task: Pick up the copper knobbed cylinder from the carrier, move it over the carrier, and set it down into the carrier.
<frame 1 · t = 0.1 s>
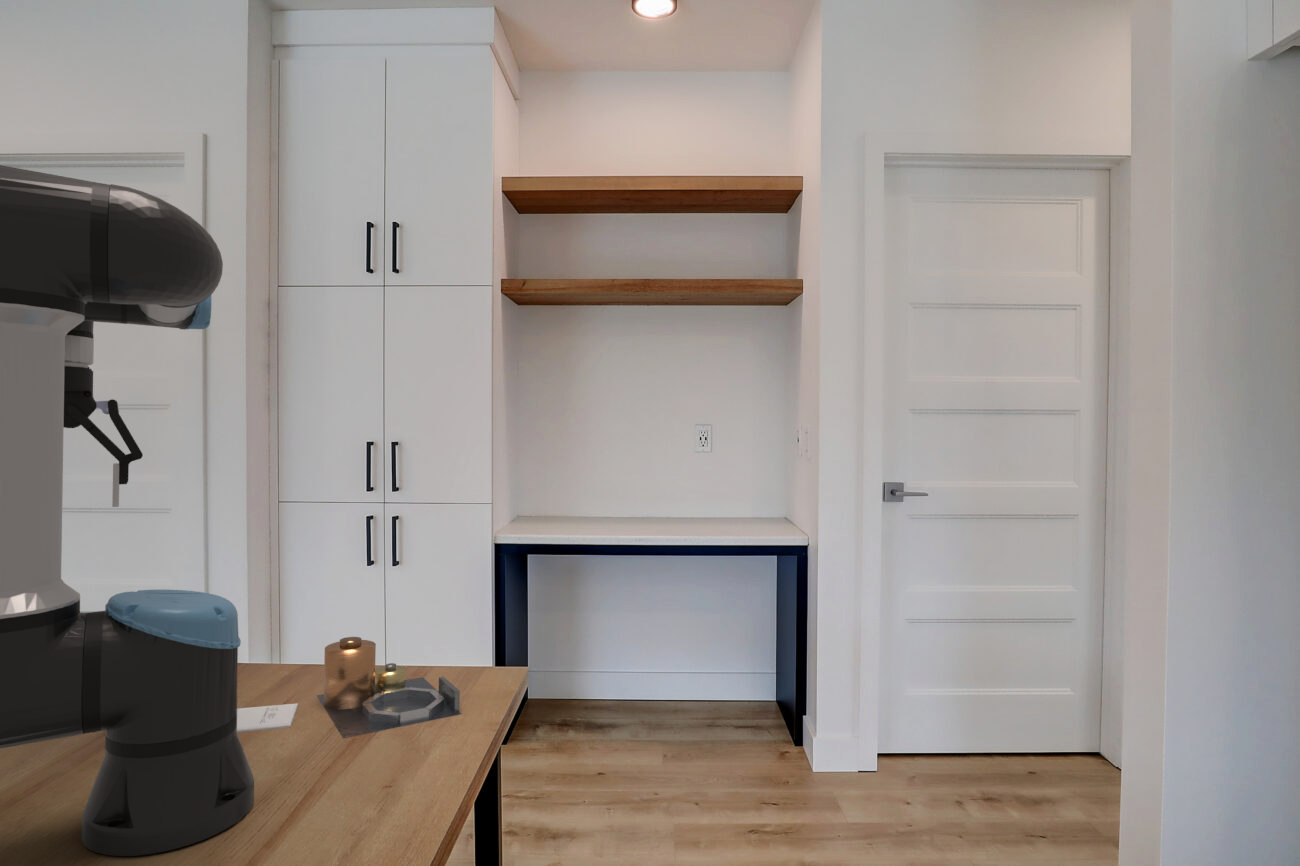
hand: (59, 508, 111), 28 cm above the table, tool pointing down, fingers open, 13 cm apart
external hard drive: (244, 729, 102), on the table
copper knobbed cylinder: (349, 700, 110), resting on carrier
carrier: (387, 707, 109), on the table
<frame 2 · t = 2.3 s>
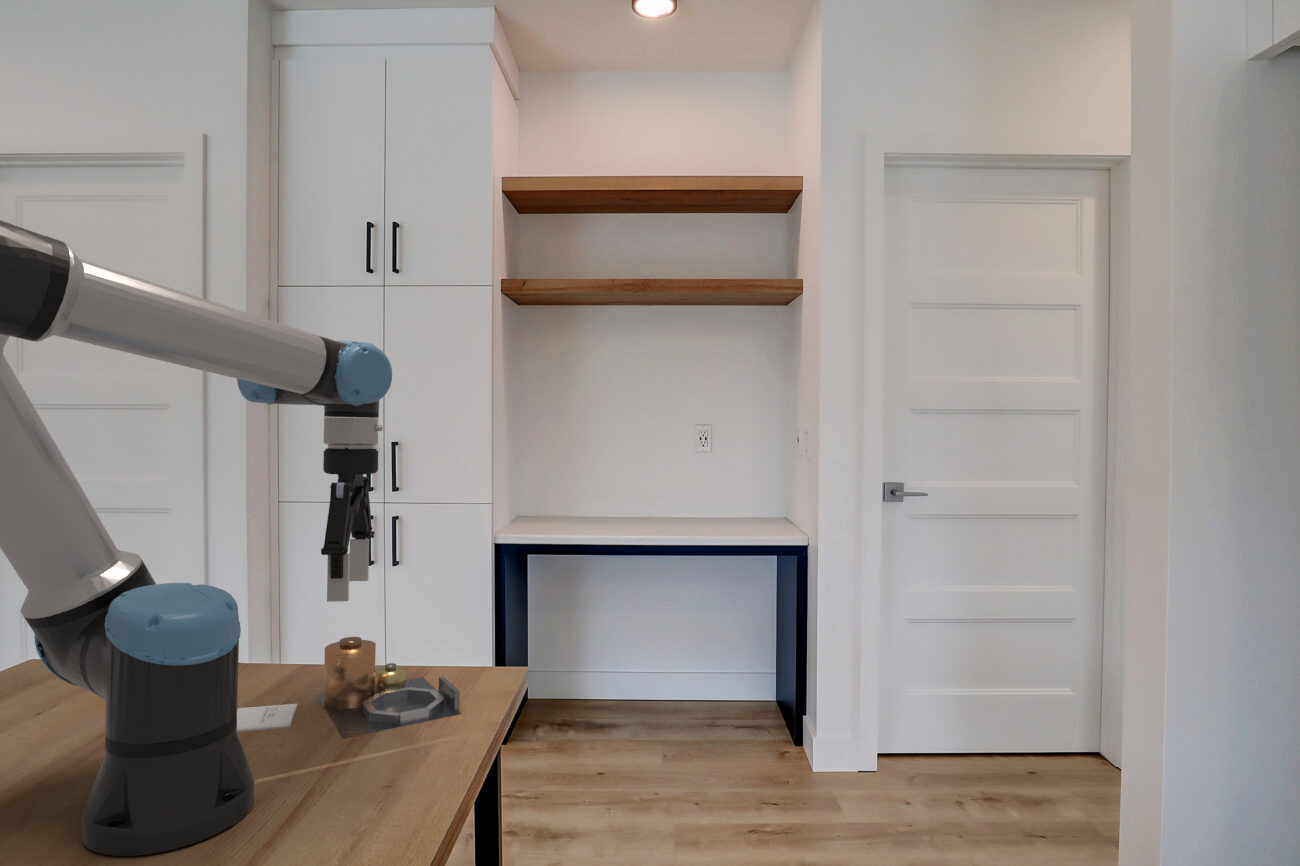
hand: (349, 590, 110), 17 cm above the table, tool pointing down, fingers open, 13 cm apart
nothing on the table moved.
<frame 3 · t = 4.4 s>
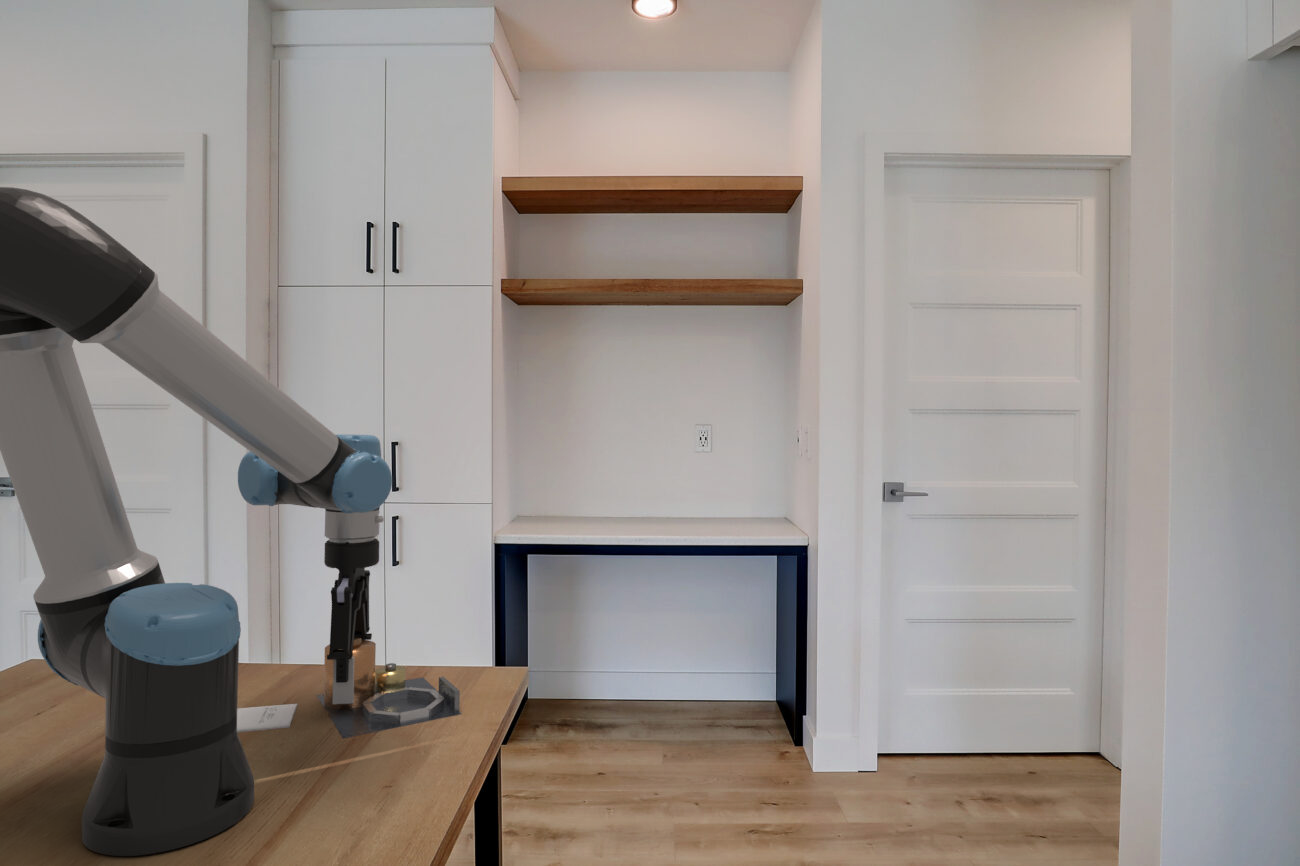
hand: (349, 693, 110), 2 cm above the table, tool pointing down, fingers closed on copper knobbed cylinder, 7 cm apart
copper knobbed cylinder: (349, 700, 110), resting on carrier, touching gripper
everything else where it was.
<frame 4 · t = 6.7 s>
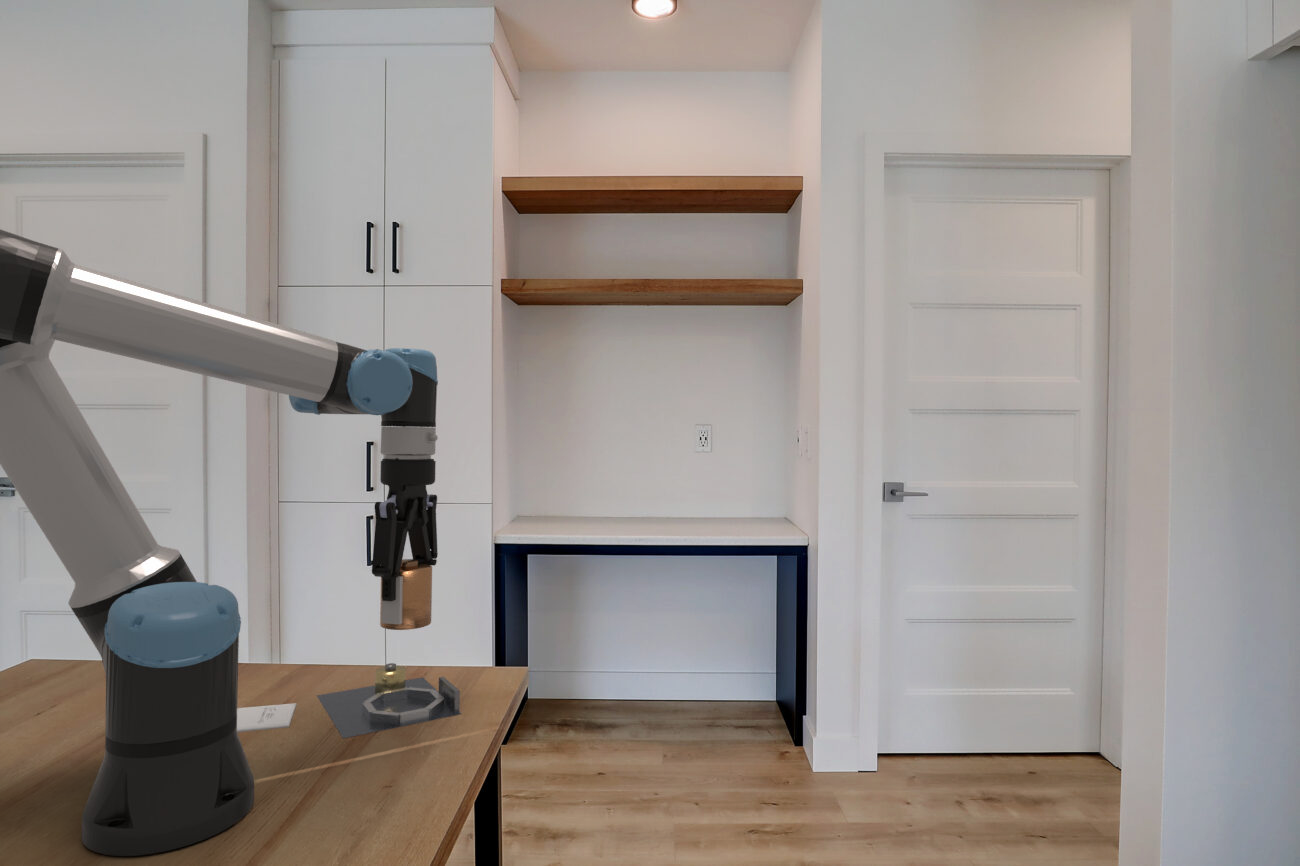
hand: (405, 616, 107), 14 cm above the table, tool pointing down, fingers closed on copper knobbed cylinder, 7 cm apart
copper knobbed cylinder: (405, 623, 107), point 13 cm above the table, touching gripper
everything else where it was.
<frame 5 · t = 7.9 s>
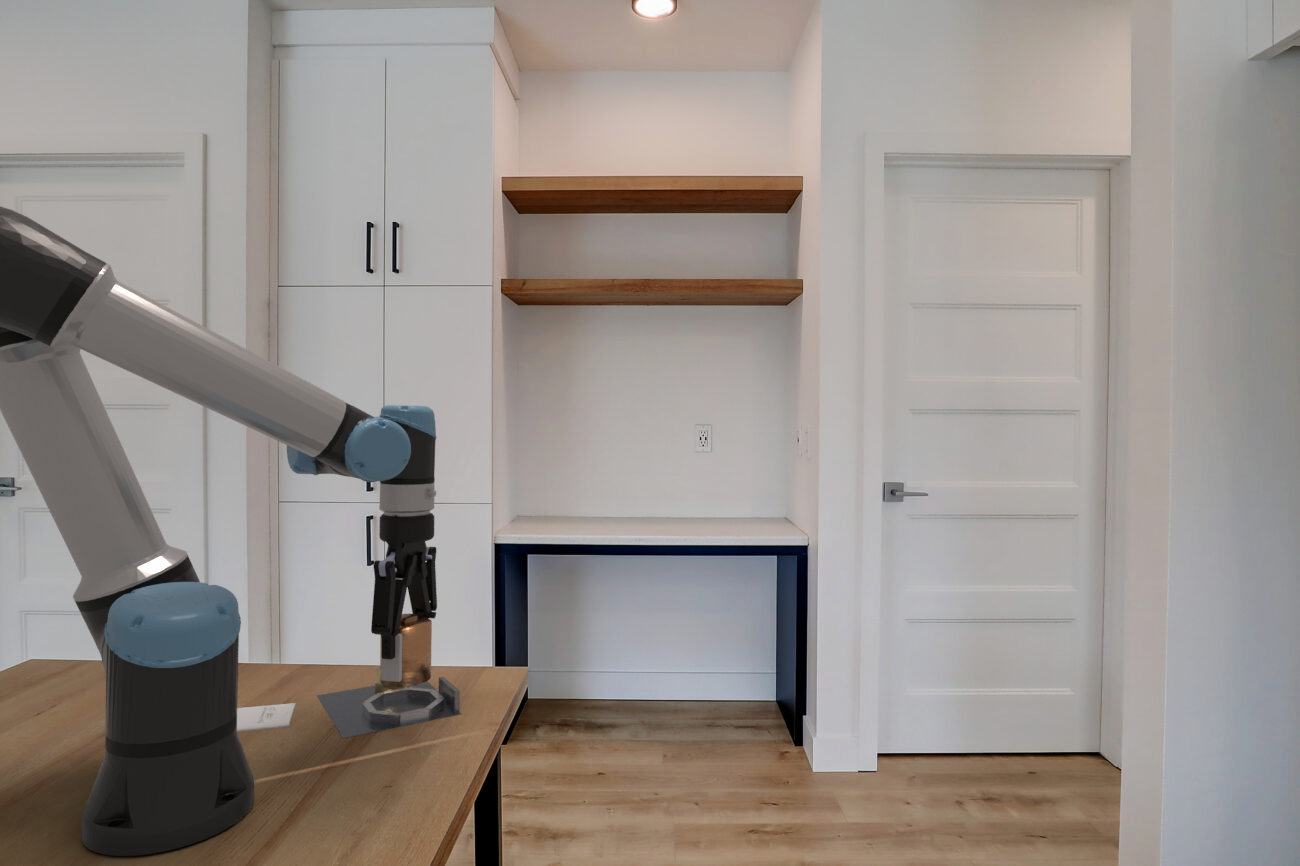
hand: (405, 671, 107), 6 cm above the table, tool pointing down, fingers closed on copper knobbed cylinder, 7 cm apart
copper knobbed cylinder: (405, 678, 107), point 5 cm above the table, touching gripper
everything else where it was.
when the fingers open (3 cm above the table, at t = 8.9 s): copper knobbed cylinder drops 1 cm, resting on carrier.
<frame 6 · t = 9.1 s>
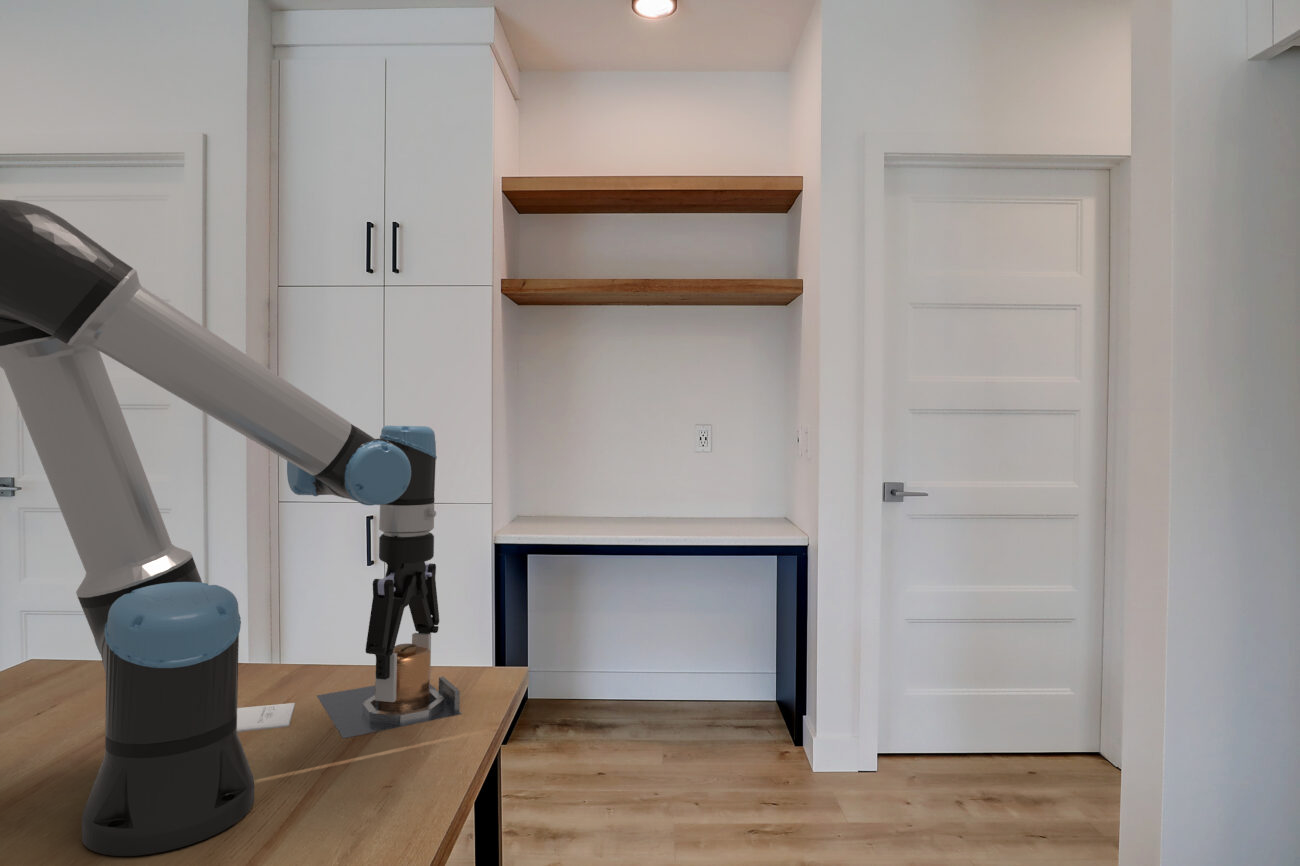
hand: (404, 688, 107), 4 cm above the table, tool pointing down, fingers open, 9 cm apart
copper knobbed cylinder: (403, 708, 107), point 1 cm above the table, touching carrier
everything else where it was.
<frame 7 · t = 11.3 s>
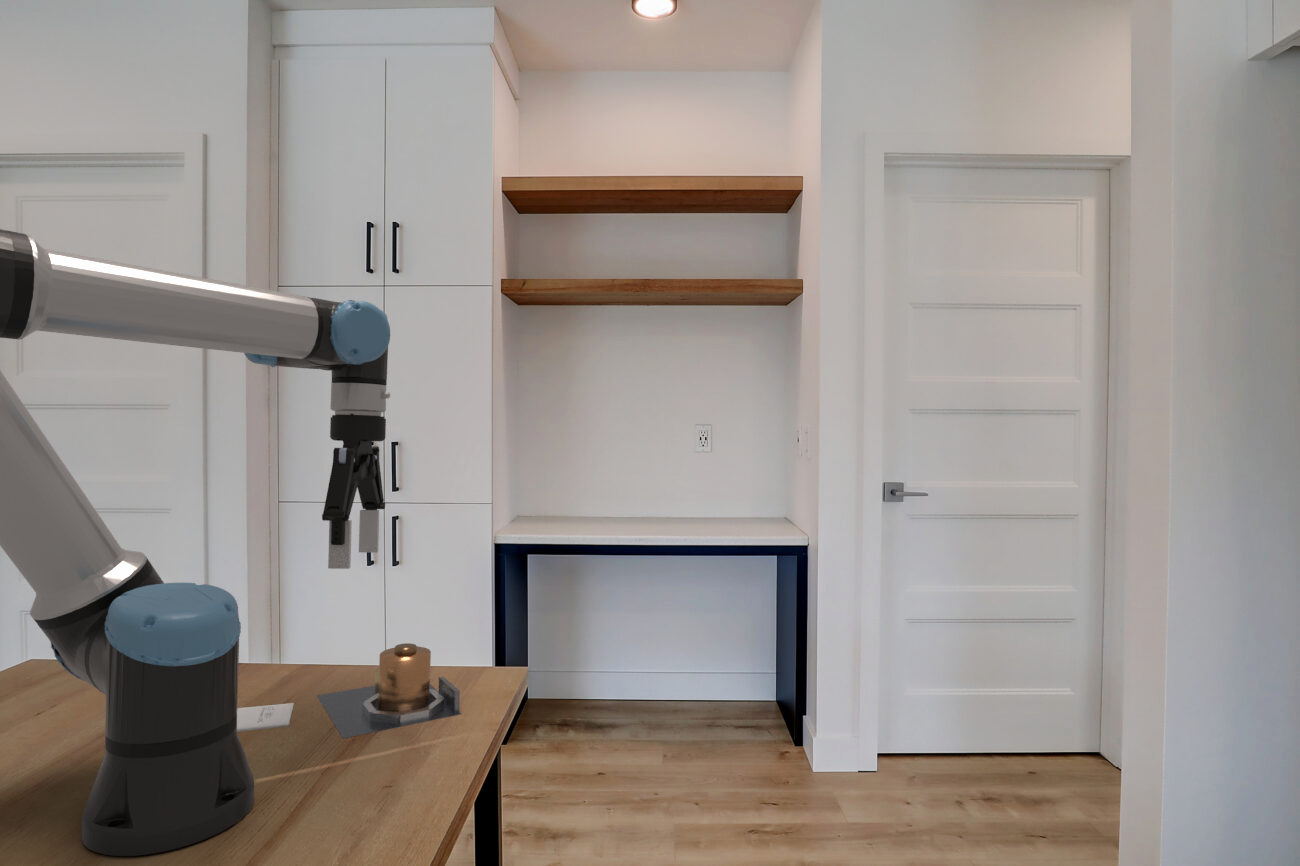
hand: (354, 559, 108), 22 cm above the table, tool pointing down, fingers open, 13 cm apart
nothing on the table moved.
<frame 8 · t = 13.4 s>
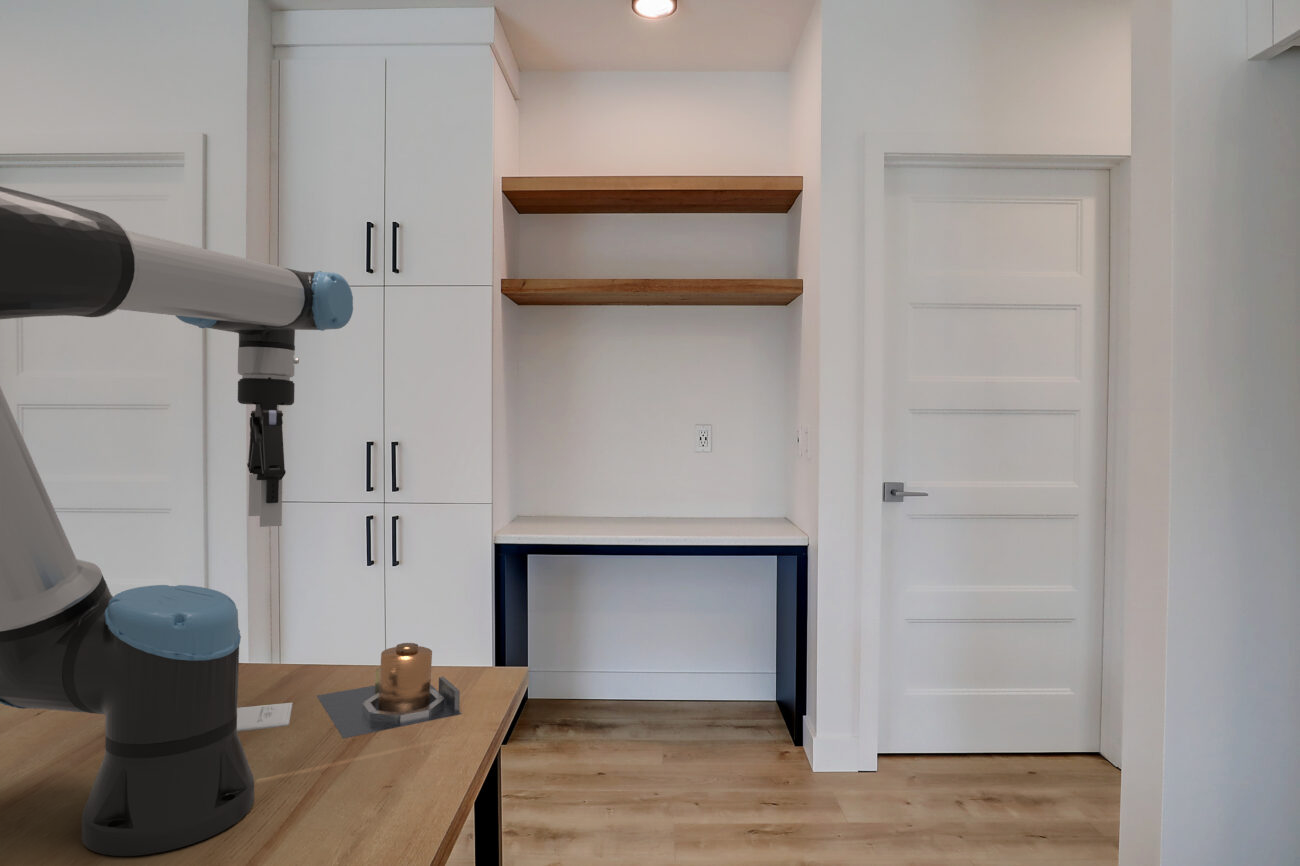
hand: (264, 520, 111), 27 cm above the table, tool pointing down, fingers open, 13 cm apart
nothing on the table moved.
at the end: copper knobbed cylinder 0.0 cm from the target spot on the carrier, point 0.6 cm above the carrier's base; copper knobbed cylinder tilted 2°; the gripper is holding nothing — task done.
